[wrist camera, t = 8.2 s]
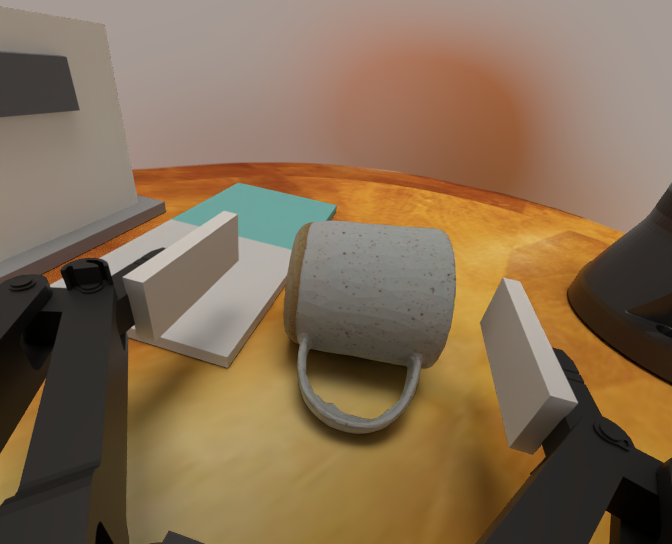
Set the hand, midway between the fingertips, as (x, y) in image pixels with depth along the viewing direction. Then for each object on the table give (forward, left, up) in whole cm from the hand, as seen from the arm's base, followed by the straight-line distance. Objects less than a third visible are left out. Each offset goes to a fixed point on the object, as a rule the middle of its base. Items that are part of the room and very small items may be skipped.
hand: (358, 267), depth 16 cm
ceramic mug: (-1, 0, -6) cm, 6 cm away
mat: (+11, -9, -6) cm, 15 cm away
